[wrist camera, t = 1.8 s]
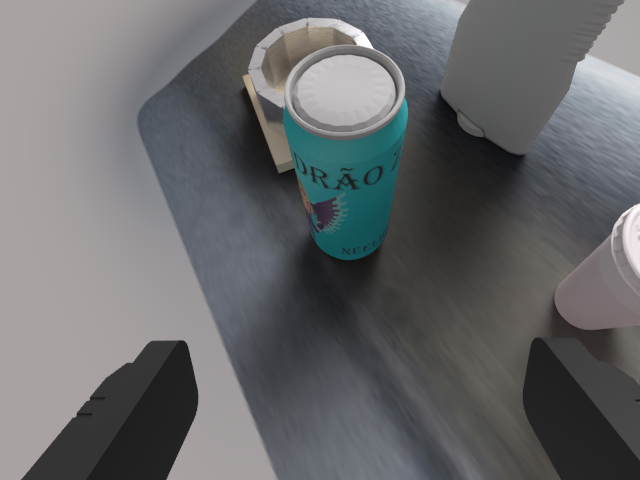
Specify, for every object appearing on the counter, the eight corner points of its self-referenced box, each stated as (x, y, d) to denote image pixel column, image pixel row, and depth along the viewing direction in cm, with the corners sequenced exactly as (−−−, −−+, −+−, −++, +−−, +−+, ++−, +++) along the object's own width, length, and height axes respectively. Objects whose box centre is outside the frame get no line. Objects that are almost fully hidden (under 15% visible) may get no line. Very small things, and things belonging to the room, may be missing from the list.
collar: (347, 45, 36) (346, 4, 33) (390, 120, 32) (395, 83, 29) (248, 78, 36) (236, 40, 32) (280, 158, 32) (270, 126, 28)
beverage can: (298, 226, 30) (252, 80, 17) (356, 188, 31) (356, 20, 18) (340, 282, 28) (327, 166, 14) (401, 240, 29) (442, 93, 15)
